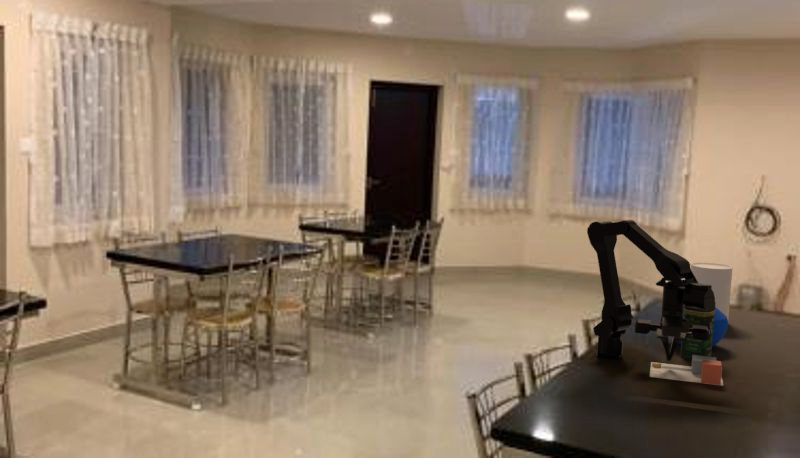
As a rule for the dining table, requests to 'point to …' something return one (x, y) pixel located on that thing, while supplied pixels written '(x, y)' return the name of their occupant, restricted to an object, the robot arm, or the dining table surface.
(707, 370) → the cap
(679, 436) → the dining table surface
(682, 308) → the robot arm
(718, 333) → the vase
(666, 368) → the panel
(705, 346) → the coffee jar
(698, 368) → the breaker toggle
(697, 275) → the canister
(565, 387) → the dining table surface
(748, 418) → the dining table surface
